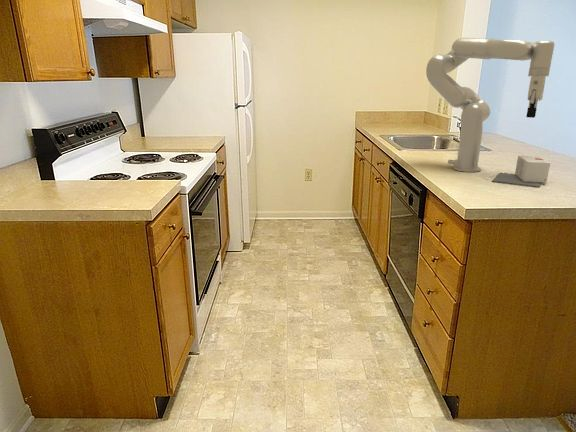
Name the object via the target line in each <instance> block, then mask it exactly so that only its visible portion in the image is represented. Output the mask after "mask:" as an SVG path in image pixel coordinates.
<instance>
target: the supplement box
mask: <svg viewBox="0 0 576 432" xmlns="http://www.w3.org/2000/svg"><path fill="white" fill-rule="evenodd" d="M550 167H551V162H549V161H548V160H546V159H545V158H542V156H539V155H538V156H537V155H517V159H516V166H515V172H514V174H516V175H517V176H518V177H519V178H520V179H521V180H523V181H524V182H538V183H541V184H547V182H548V177H549V171H550Z"/></svg>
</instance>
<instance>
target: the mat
mask: <svg viewBox="0 0 576 432" xmlns="http://www.w3.org/2000/svg"><path fill="white" fill-rule="evenodd" d="M491 182H492V183H497V184H505V185H514V186H522V187H523V186H524V187H532V188H541V185H542V183H538V182H524V181H523V180H521V179H520V178H519V177H518V176H517V175H516V174H515V173H507V172H499V173H497V175H496V176H495V177H494V178H493V179H492V180H491Z"/></svg>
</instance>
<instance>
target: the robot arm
mask: <svg viewBox="0 0 576 432" xmlns="http://www.w3.org/2000/svg"><path fill="white" fill-rule="evenodd" d="M554 48H555V42H554V41H552V40H539V41H536V42H531V41H526V40H515V39H514V40H513V39H497V38H496V39H495V38H484V37H483V38H480V37H478V38H477V37H459V38H457V39H455V41H453V43H452V45H451V50H450V51H449V52H447V53H446V54H436V55H434V56H432V57H431V58H430V59H429V60H428V62H427V65H426V68H425V70H426V71H425V74H426V75H425V76H426V78H427V81H428V82H429V84H430V85H431V86H432V87H433V89H435V90H436V91H437V93H439V94H440V96H441V97H442V98H443V99H444V100H445V101H446V102H447V103H448V104H449V105H450V106H451V107H452V108H456V109H458V108H459V109H461V110H462V112H461V115H460V133H459V142H458V150H457V157H456V158H457V159H455V160H454V159H448V160H447V164H449V165H453V166H452V169H453V170H455V171H459V172H465V173H477V172H480V171H481V169H482V168H481V167H480V166H479V158H480V157H479V156H480V151H481V145H482V137H483V125H484V124H483V122H485V121H486V120H487V119H488V118H489V116H490V114H491V109H490V106H489V105H488V103H486V101H485V100H484V99H483V98H481V97H480V96H479V95H478V94H477V93H476V92H475V91H474V90H473V89H472V88H470V87H469V86H468V87H467V86H461V85H460V84H459V83H457V81H456V80H455V79H453V78H452V77H451V76H450V75H449V73H451V72H452V71H454V70H455V69H457V68H458V67H460V66H461V65H462V64H463V63H465V62H466V61H468V60H469V59H481V60H491V59H498V60H511V61H512V60H513V61H529V60H530V62H529V63H530V64H529V69H528V75H527V77H530V81H529V86H528V93H527V100H528V101H529V103H528V107H527V111H526V116H525V117H526V118H536V115H537V107H538V106H537V105H538V101H539V102H541V101H542V100H543V97H544V91H545V84H546V77H549V75H550V72H551V65H552V61H553V55H554V50H555V49H554Z"/></svg>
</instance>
